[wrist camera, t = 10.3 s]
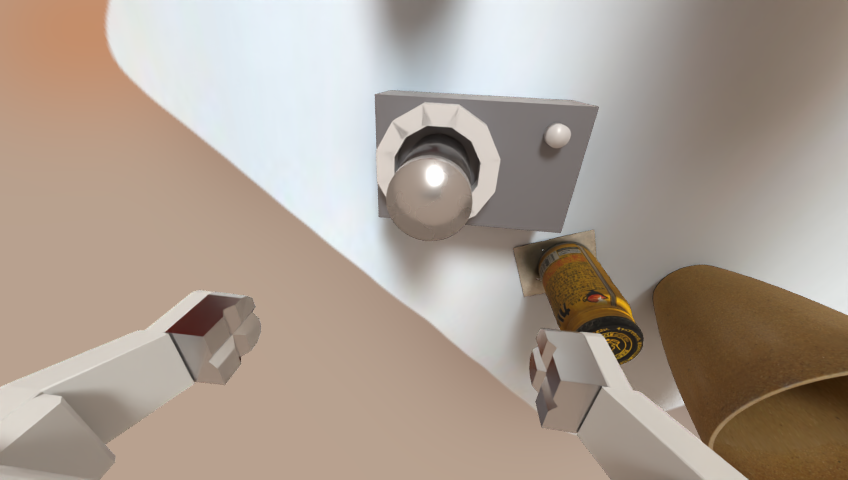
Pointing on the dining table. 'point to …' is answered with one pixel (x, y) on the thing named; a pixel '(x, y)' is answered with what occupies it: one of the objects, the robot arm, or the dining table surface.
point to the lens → (431, 189)
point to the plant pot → (758, 372)
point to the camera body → (493, 150)
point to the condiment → (579, 290)
